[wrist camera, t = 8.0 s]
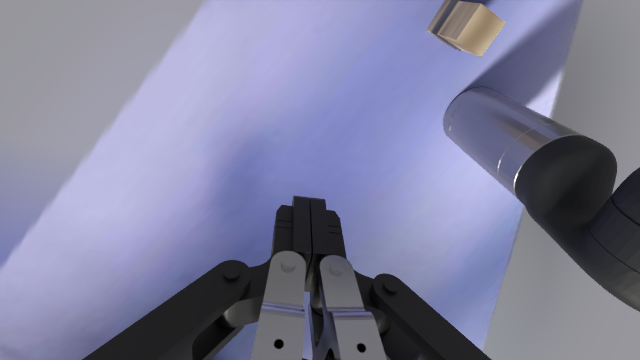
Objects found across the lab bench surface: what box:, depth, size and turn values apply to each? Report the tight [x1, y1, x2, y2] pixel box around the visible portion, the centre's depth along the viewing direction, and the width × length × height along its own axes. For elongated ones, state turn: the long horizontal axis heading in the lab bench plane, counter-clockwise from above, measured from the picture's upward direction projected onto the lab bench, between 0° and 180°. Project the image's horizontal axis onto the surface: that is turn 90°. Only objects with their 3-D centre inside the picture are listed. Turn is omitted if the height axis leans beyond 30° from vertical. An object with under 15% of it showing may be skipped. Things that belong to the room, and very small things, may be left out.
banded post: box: [426, 0, 506, 57], centre depth 37 cm, size 4×4×8 cm
